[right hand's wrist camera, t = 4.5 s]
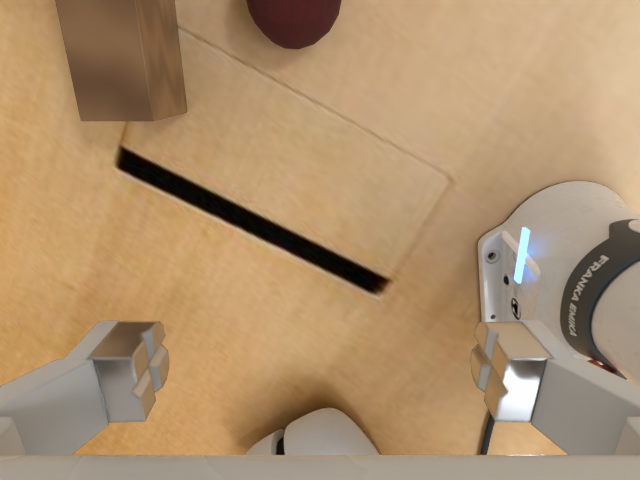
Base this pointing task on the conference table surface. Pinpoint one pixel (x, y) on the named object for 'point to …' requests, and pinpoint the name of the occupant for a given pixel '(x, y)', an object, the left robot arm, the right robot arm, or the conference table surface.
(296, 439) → the white rounded shell
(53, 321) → the conference table surface
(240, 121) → the conference table surface
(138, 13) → the bar
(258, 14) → the plum
